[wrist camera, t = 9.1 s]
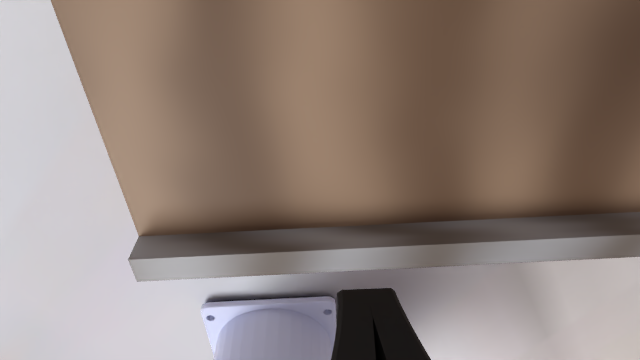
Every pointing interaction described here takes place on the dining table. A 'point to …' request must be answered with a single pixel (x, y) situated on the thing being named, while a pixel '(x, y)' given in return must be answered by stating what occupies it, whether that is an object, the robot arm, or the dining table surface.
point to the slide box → (365, 130)
